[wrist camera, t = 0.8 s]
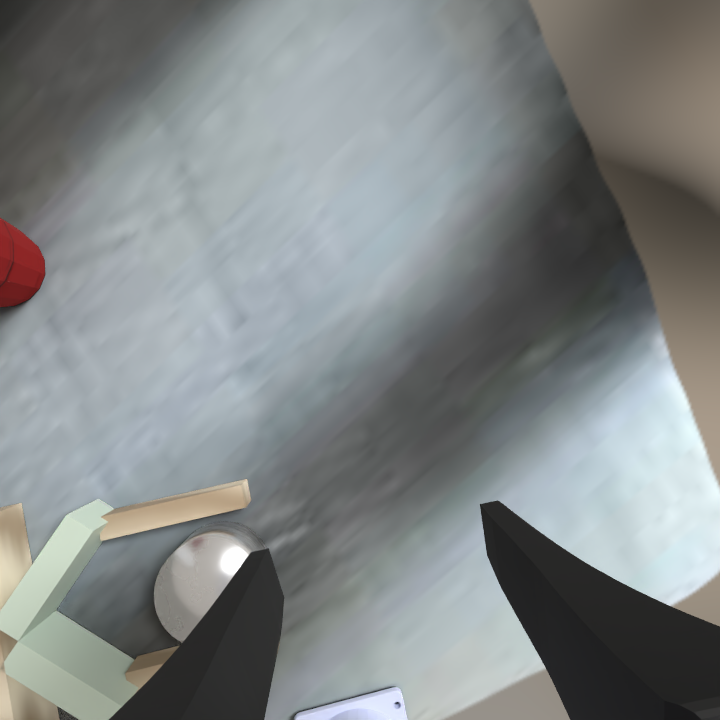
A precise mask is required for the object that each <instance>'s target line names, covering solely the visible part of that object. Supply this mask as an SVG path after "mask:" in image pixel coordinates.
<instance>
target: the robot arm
mask: <svg viewBox="0 0 720 720" xmlns="http://www.w3.org/2000/svg"><path fill="white" fill-rule="evenodd" d="M480 508H481V515H482V522H483V529H484V536H485V543H486V550H487V556H488V558H489V561H490V563H491V565H492V568H493V570H494V572H495V575H496V577H497V579H498V582H499V584H500V586H501V588H502V590H503V592H504V594H505V595H506V597H507V599H508V601H509V603H510V604H511V606H512V608H513V610H514V612H515V613H516V615H517V617H518V619H519V621H520V622H521V624H522V626H523V628H524V629H525V631H526V633H527V635H528V637H529V638H530V640H531V642H532V644H533V645H534V647H535V649H536V651H537V653H538V654H539V656H540V658H541V660H542V662H543V663H544V665H545V667H546V669H547V671H548V673H549V675H550V677H551V679H552V681H553V683H554V685H555V687H556V690H557V692H558V694H559V696H560V698H561V700H562V702H563V705H564V707H565V709H566V711H567V713H568V715H569V718H570V720H720V627H719V626H717V625H714V624H712V623H709V622H707V621H704V620H702V619H699V618H697V617H694V616H692V615H689V614H687V613H685V612H682V611H680V610H678V609H675V608H673V607H671V606H669V605H666V604H664V603H662V602H660V601H658V600H656V599H653V598H651V597H649V596H647V595H645V594H643V593H641V592H639V591H637V590H635V589H633V588H631V587H629V586H627V585H625V584H623V583H621V582H619V581H617V580H615V579H613V578H612V577H610V576H608V575H606V574H604V573H603V572H601V571H599V570H597V569H595V568H594V567H592V566H590V565H588V564H587V563H585V562H583V561H582V560H580V559H579V558H577V557H576V556H574V555H572V554H571V553H569V552H568V551H566V550H565V549H563V548H562V547H560V546H559V545H557V544H556V543H554V542H553V541H552V540H550V539H549V538H547V537H546V536H545V535H543V534H542V533H540V532H539V531H538V530H536V529H535V528H533V527H532V526H531V525H529V524H528V523H527V522H525V521H524V520H523V519H522V518H520V517H519V516H518V515H516V514H515V513H514V512H512V511H511V510H510V509H509V508H507V507H506V506H505V505H504V504H502V503H501V502H499V501H493V502H489V503H484V504H480ZM283 605H284V595H283V592H282V589H281V586H280V583H279V580H278V577H277V573H276V570H275V567H274V564H273V561H272V558H271V554H270V551H269V548H268V549H263V550H258V551H253V552H251V553H250V554H249V555H248V557H247V558H246V559H245V561H244V562H243V563H242V565H241V566H240V568H239V569H238V570H237V572H236V573H235V575H234V576H233V577H232V579H231V580H230V582H229V583H228V584H227V586H226V587H225V589H224V590H223V591H222V593H221V594H220V595H219V597H218V598H217V599H216V601H215V602H214V603H213V605H212V606H211V607H210V609H209V610H208V611H207V613H206V614H205V615H204V616H203V618H202V619H201V620H200V621H199V623H198V624H197V625H196V626H195V628H194V629H193V630H192V631H191V633H190V634H189V635H188V636H187V638H186V639H185V640H184V641H183V642H182V644H181V645H180V646H179V647H178V648H177V650H176V651H175V652H174V653H173V654H172V655H171V656H170V658H169V659H168V660H167V661H166V662H165V663H164V664H163V665H162V666H161V667H160V668H159V670H158V671H157V672H156V673H155V674H154V675H153V676H152V677H151V678H150V679H149V680H148V681H147V682H146V683H145V684H144V685H143V686H142V687H141V688H140V689H139V690H138V691H137V692H136V693H135V694H134V695H133V696H132V697H131V698H130V699H129V700H128V701H127V702H126V703H125V704H124V705H123V706H122V707H121V708H120V709H119V710H118V711H117V712H116V713H115V714H114V715H113V716H112V717H111V718H110V719H109V720H264V717H265V712H266V707H267V702H268V697H269V692H270V687H271V682H272V677H273V672H274V667H275V662H276V657H277V651H278V646H279V641H280V635H281V628H282V618H283ZM395 702H399V703H398V704H394V703H395ZM294 720H407V715H406V711H405V706H404V701H403V696H402V692H401V690H400V689H399V688H397V687H393V688H389V689H385V690H382V691H378V692H374V693H370V694H367V695H363V696H359V697H355V698H352V699H348V700H344V701H340V702H337V703H333V704H329V705H325V706H322V707H318V708H314V709H310V710H307V711H303V712H299V713H297V714H296V715H295V717H294Z"/></svg>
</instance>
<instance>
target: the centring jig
mask: <svg viewBox="0 0 720 720" xmlns="http://www.w3.org/2000/svg"><path fill="white" fill-rule="evenodd" d="M250 501H251V497H250V492H249V487H248V482H247V479H244V480H240V481H236V482H231V483H227V484H222V485H218V486H213V487H209V488H205V489H200V490H196V491H191V492H187V493H183V494H178V495H174V496H169V497H165V498H161V499H156V500H152V501H147V502H143V503H139V504H134V505H130V506H125V507H121V508H116V509H114V508H112V507H111V506H109V505H107V504H106V503H104V502H103V501H101V500H100V499H97V500H95V501H93V502H91V503H89V504H87V505H85V506H83V507H81V508H79V509H77V510H75V511H73V512H71V513H69V514H67V515H66V516H65V518H64V519H63V521H62V522H61V524H60V525H59V527H58V528H57V529H56V531H55V532H54V534H53V535H52V537H51V538H50V540H49V541H48V542H47V544H46V545H45V547H44V548H43V550H42V551H41V553H40V554H39V556H38V557H37V558H36V560H35V561H34V563H33V564H32V560H31V554H30V548H29V543H28V537H27V531H26V525H25V520H24V514H23V508H22V503H19V504H14V505H10V506H5V507H1V508H0V720H60V719H59V714H58V708H57V706H58V707H60V708H61V709H63V710H64V711H66V712H68V713H69V714H71V715H73V716H74V717H76V718H77V719H79V720H109V719H110V718H111V717H112V716H113V715H114V714H115V713H116V712H117V711H118V710H119V709H120V708H121V707H122V706H123V705H124V704H125V703H126V702H127V701H128V700H129V699H130V698H131V697H132V696H133V695H134V694H135V693H136V692H137V691H138V690H139V689H140V688H141V687H142V686H143V685H144V684H145V683H146V682H147V681H148V680H149V679H150V678H151V677H152V676H153V675H154V674H155V673H156V672H157V671H158V670H159V668H160V667H161V666H162V665H163V664H164V663H165V662H166V661H167V660H168V659H169V658H170V656H171V655H172V654H173V653H174V652H175V651H176V650H177V648H178V647H179V646H176V647H172V648H168V649H164V650H160V651H156V652H152V653H148V654H144V655H140V656H137V658H136V659H135V660H134V659H133V658H131V657H130V656H128V655H126V654H125V653H123V652H122V651H120V650H118V649H117V648H115V647H114V646H112V645H110V644H109V643H107V642H106V641H104V640H102V639H101V638H99V637H98V636H96V635H95V634H93V633H91V632H90V631H88V630H87V629H85V628H83V627H82V626H80V625H79V624H77V623H75V622H74V621H72V620H71V619H69V618H67V617H66V616H64V615H63V614H61V613H60V612H58V611H56V610H57V608H58V607H59V605H60V604H61V602H62V601H63V599H64V598H65V596H66V595H67V593H68V592H69V590H70V589H71V587H72V586H73V584H74V583H75V582H76V580H77V579H78V577H79V576H80V574H81V573H82V571H83V570H84V568H85V567H86V565H87V564H88V562H89V561H90V559H91V558H92V557H93V555H94V554H95V552H96V551H97V549H98V548H99V546H100V545H101V543H102V542H103V540H107V539H112V538H116V537H120V536H125V535H129V534H133V533H138V532H142V531H146V530H151V529H155V528H159V527H164V526H168V525H172V524H177V523H181V522H185V521H190V520H194V519H198V518H202V517H207V516H211V515H215V514H220V513H224V512H228V511H233V510H237V509H241V508H246V506H247V505H248V504H249V502H250ZM54 611H55V612H54ZM43 620H44V621H43ZM279 644H280V642H279ZM278 649H279V646H278ZM277 653H278V651H277Z"/></svg>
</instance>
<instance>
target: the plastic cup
mask: <svg viewBox="0 0 720 720" xmlns="http://www.w3.org/2000/svg"><path fill="white" fill-rule="evenodd" d="M44 276H45V260H44V258H43V256H42V253H41V251H40V249H39V247H38V246H37V245H36V244H34V243H33V241H31V240H30V239H29V238H28V237H27V236H26V235H25V234H23V233H22V232H21V231H20V230H18V229H17V228H15V227H14V226H12V225H11V224H9V223H7V222H6V221H4V220H3V219H1V218H0V307H8V306H15V305H18V304H20V303H22V302H24V301H27V300H29V299H30V298H31V297H32V296H33V295H34V294H35V293H36V292H37V291H38V290H39V289H40V286H41V284H42V281H43V279H44Z"/></svg>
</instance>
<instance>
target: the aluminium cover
mask: <svg viewBox="0 0 720 720" xmlns="http://www.w3.org/2000/svg"><path fill="white" fill-rule="evenodd" d="M263 549H267V548H266V546H265V544H264V542H263V541H262V540H261V538H260V537H259V536H258V535H257V534H256V533H255V532H254V531H252V530H251V529H250V528H248V527H246V526H244V525H241V524H239V523H235V522H228V521H222V522H214V523H211V524H207V525H205V526H203V527H201V528H199V529H198V530H196V531H195V532H194V533H192V534H191V535H190V536H189V537H188V538H187V539H186V540H185V541H184V542H183V543H182V544H181V545H180V547H179V548H178V549H177V550H176V551H175V552H174V553H173V554H172V555H171V556H170V557H169V558H168V559H167V560H166V562H165V563H164V564H163V566H162V568H161V570H160V571H159V574H158V576H157V579H156V583H155V588H154V604H155V609H156V613H157V615H158V618H159V620H160V622H161V623H162V625H163V627H164V628H165V629H166V630H167V632H168V633H169V634H170V635H171V636H173V637H174V638H175V639H177V640H178V641H180V642H183V641H184V640H185V639H186V638H187V636H188V635H189V634H190V633H191V631H192V630H193V629H194V628H195V626H196V625H197V624H198V623H199V621H200V620H201V619H202V618H203V616H204V615H205V614H206V613H207V611H208V610H209V609H210V607H211V606H212V605H213V603H214V602H215V601H216V599H217V598H218V597H219V595H220V594H221V593H222V591H223V590H224V589H225V587H226V586H227V584H228V583H229V582H230V580H231V579H232V577H233V576H234V575H235V573H236V572H237V570H238V569H239V568H240V566H241V565H242V563H243V562H244V561H245V559H246V558H247V557H248V555H249V554H250V553H251V552H253V551H258V550H263Z"/></svg>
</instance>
